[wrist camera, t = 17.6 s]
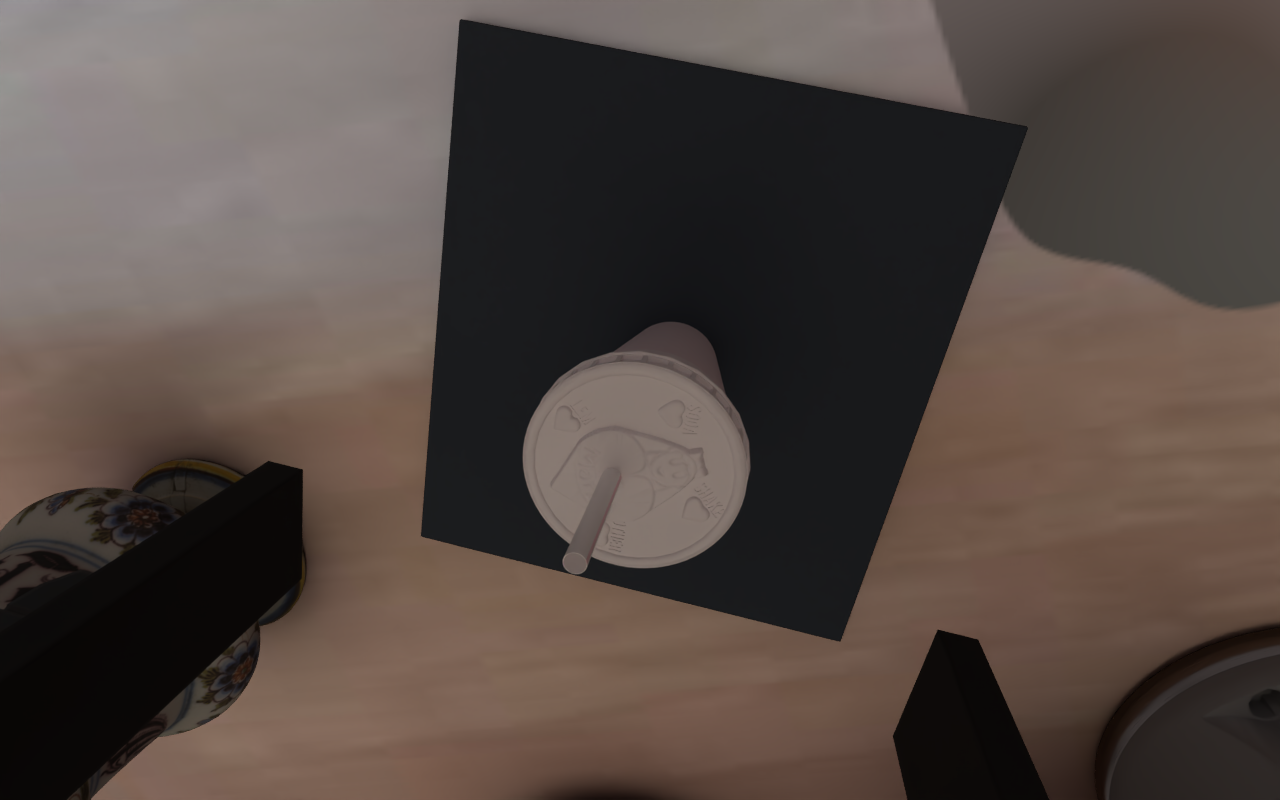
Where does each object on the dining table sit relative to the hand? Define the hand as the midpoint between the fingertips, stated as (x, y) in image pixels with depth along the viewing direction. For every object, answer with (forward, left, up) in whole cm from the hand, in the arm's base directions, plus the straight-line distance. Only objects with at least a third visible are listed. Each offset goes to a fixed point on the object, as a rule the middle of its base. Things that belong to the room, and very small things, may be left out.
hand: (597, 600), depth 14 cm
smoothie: (0, 0, -15) cm, 15 cm away
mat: (0, 0, -16) cm, 16 cm away
